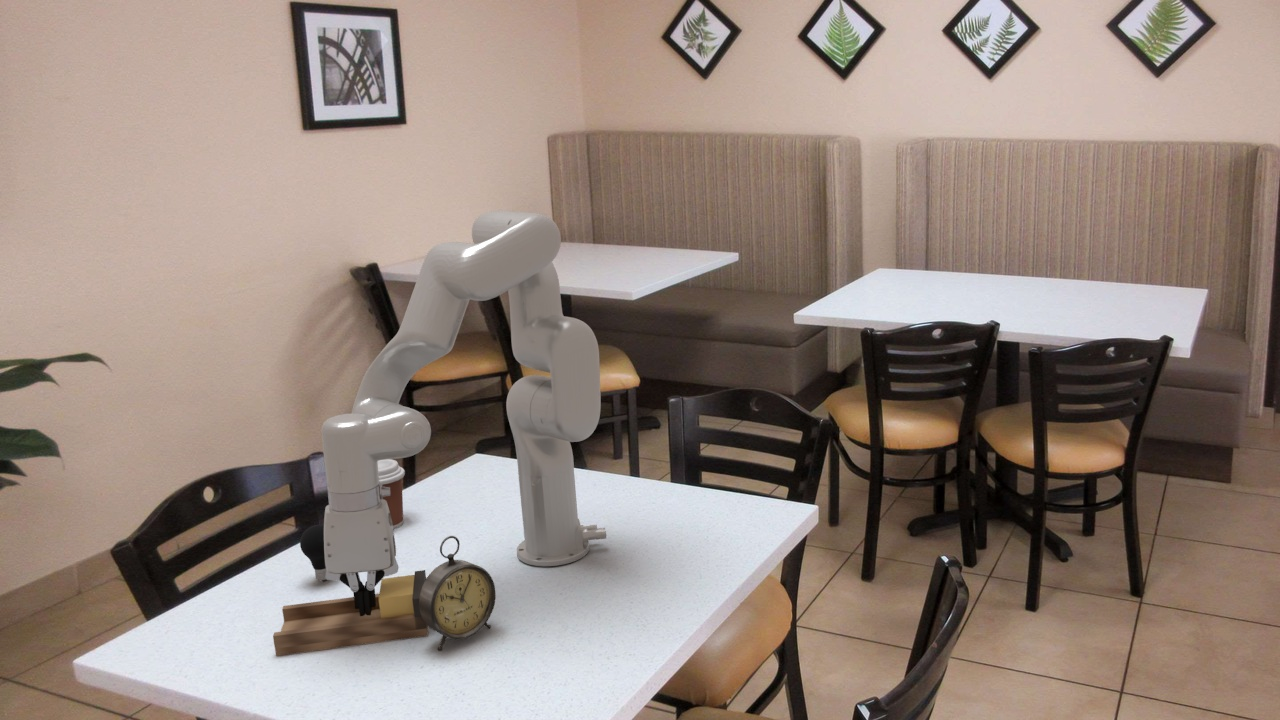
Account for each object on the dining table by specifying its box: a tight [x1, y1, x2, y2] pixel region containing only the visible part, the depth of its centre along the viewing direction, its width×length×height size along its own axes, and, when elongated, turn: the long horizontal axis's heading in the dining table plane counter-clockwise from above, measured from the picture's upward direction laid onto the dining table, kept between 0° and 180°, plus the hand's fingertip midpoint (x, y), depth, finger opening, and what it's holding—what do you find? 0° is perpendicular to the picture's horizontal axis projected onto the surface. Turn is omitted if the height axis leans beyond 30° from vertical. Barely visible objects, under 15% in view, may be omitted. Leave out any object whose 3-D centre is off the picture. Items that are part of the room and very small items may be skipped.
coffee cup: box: [377, 459, 406, 530], centre depth 207 cm, size 9×9×12 cm
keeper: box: [378, 574, 415, 618], centre depth 167 cm, size 5×7×5 cm
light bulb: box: [299, 524, 328, 582], centre depth 184 cm, size 6×6×10 cm
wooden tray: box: [272, 569, 429, 657], centre depth 166 cm, size 22×10×6 cm, turn 99°
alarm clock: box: [419, 535, 497, 652], centre depth 160 cm, size 11×5×16 cm, turn 131°
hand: (366, 611), depth 166 cm, fingers closed
